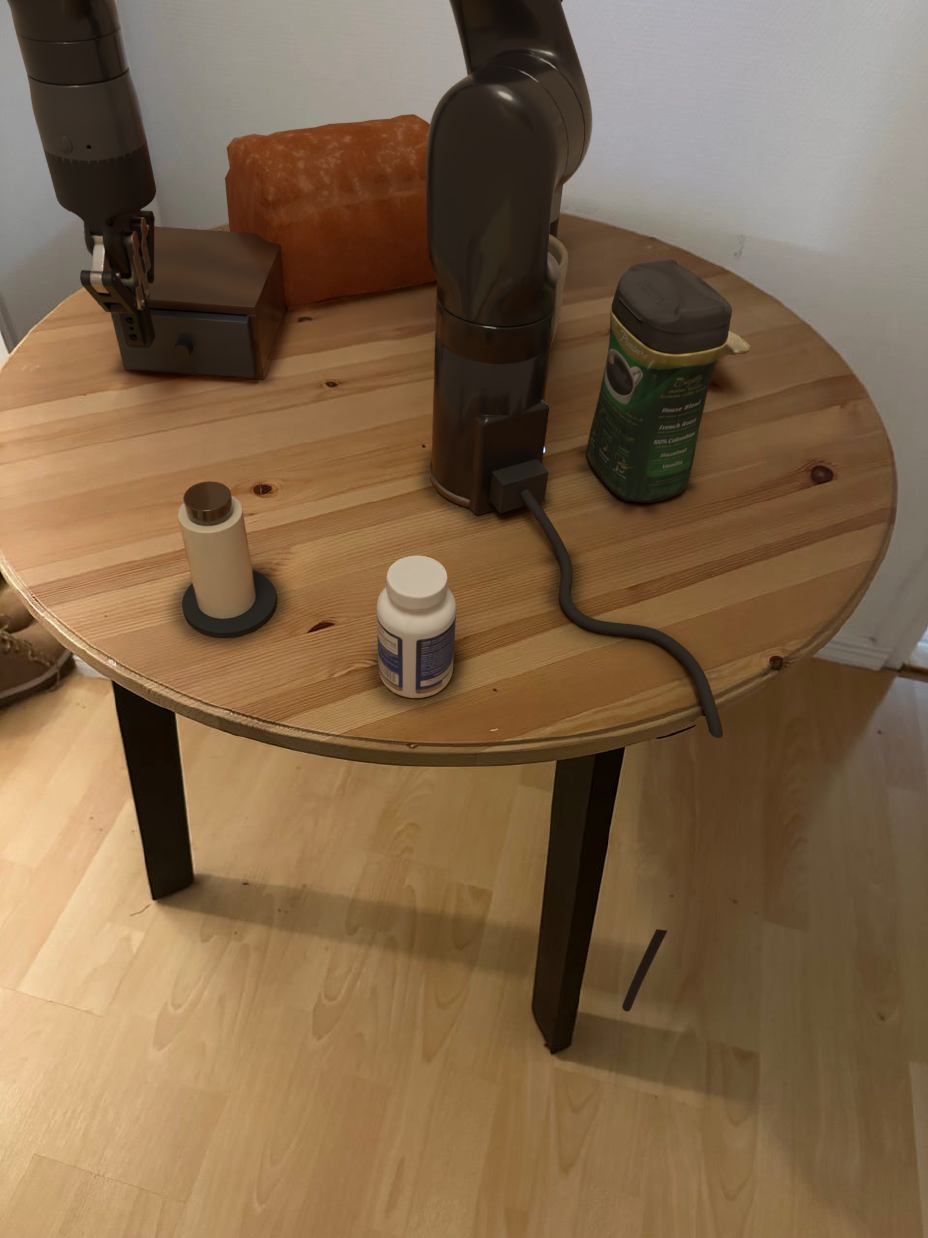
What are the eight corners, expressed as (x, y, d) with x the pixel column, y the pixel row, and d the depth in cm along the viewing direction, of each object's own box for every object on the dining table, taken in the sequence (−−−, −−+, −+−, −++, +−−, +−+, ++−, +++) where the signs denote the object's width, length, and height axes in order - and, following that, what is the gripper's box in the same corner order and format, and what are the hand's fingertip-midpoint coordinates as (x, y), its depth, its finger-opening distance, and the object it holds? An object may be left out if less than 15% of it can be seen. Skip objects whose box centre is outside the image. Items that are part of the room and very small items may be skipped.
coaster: (289, 620, 72) (289, 615, 71) (198, 649, 69) (197, 644, 69) (259, 562, 76) (258, 556, 76) (172, 587, 74) (170, 582, 73)
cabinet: (263, 380, 94) (255, 306, 88) (124, 370, 94) (106, 296, 88) (290, 305, 104) (284, 235, 98) (164, 296, 104) (150, 225, 98)
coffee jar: (700, 496, 84) (757, 302, 71) (621, 515, 82) (665, 318, 69) (647, 434, 90) (690, 244, 77) (572, 450, 88) (603, 257, 75)
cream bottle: (254, 575, 74) (238, 472, 67) (258, 615, 71) (241, 513, 64) (196, 581, 73) (173, 478, 66) (197, 622, 70) (174, 519, 63)
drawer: (251, 384, 91) (244, 329, 87) (120, 375, 91) (107, 319, 87) (280, 307, 101) (274, 254, 97) (162, 299, 101) (151, 245, 97)
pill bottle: (456, 648, 71) (462, 551, 64) (448, 704, 67) (454, 608, 60) (384, 640, 71) (382, 543, 64) (372, 696, 67) (369, 600, 60)
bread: (475, 278, 109) (483, 143, 99) (271, 319, 101) (256, 176, 90) (414, 217, 120) (415, 88, 109) (224, 249, 111) (205, 113, 101)
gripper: (118, 173, 67) (165, 387, 79) (166, 107, 76) (201, 308, 89) (11, 168, 67) (75, 382, 79) (72, 102, 76) (120, 304, 89)
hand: (141, 343), depth 84 cm, fingers closed
